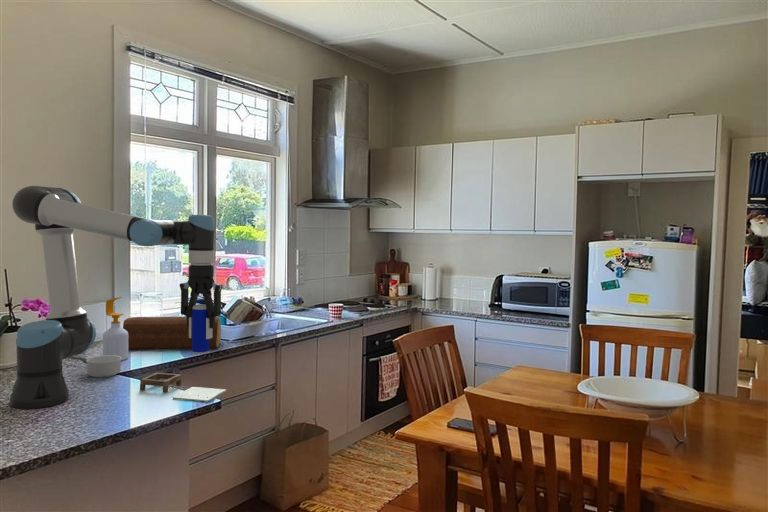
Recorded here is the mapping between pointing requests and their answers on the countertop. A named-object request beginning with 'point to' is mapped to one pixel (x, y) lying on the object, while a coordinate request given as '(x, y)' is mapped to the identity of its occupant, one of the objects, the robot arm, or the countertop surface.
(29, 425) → the countertop surface
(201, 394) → the coaster
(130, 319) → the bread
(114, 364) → the saucepan
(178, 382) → the brown square stand
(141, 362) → the countertop surface
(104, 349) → the soap bottle
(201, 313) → the beverage can
